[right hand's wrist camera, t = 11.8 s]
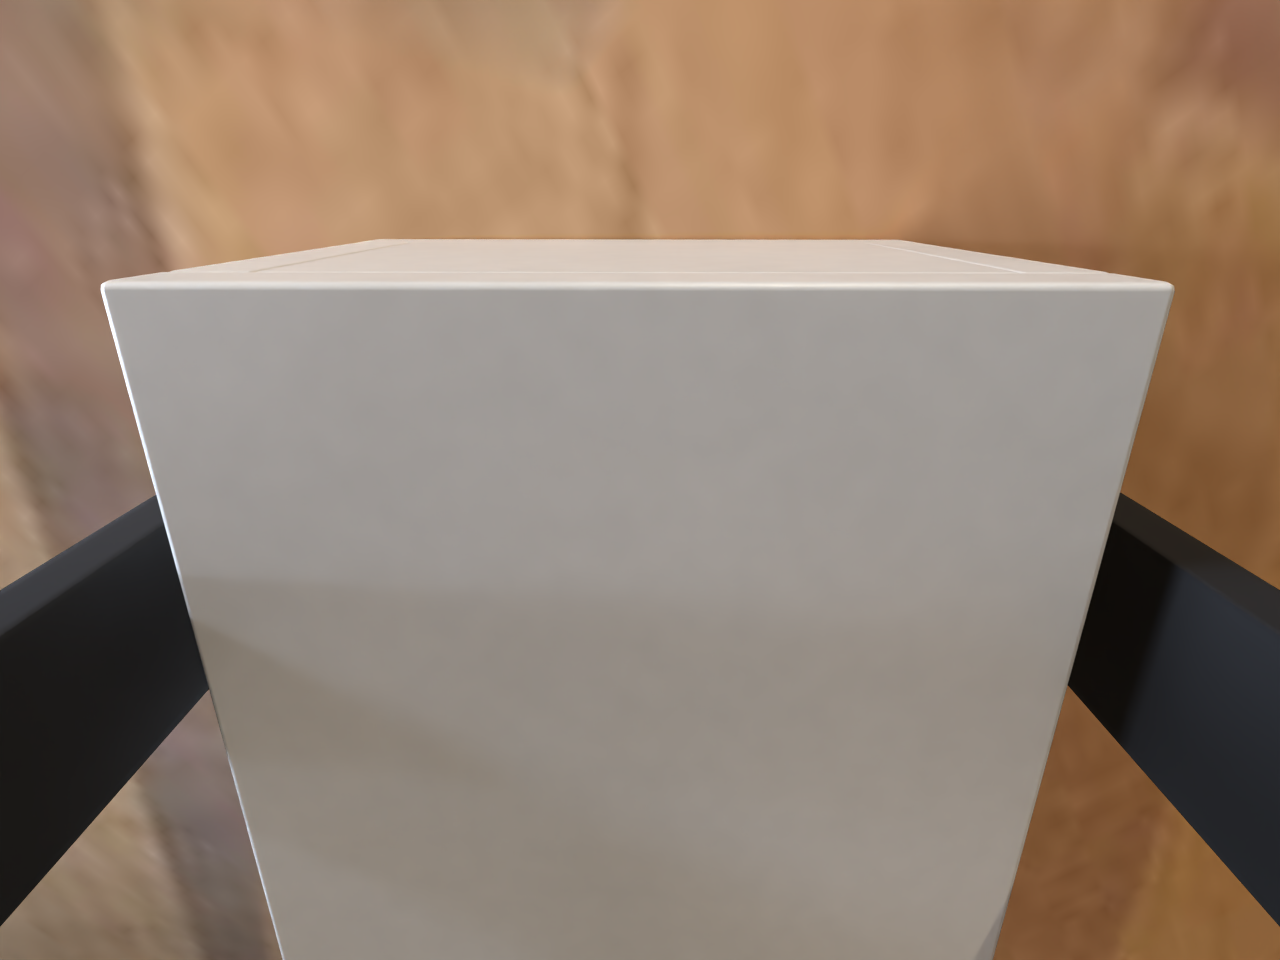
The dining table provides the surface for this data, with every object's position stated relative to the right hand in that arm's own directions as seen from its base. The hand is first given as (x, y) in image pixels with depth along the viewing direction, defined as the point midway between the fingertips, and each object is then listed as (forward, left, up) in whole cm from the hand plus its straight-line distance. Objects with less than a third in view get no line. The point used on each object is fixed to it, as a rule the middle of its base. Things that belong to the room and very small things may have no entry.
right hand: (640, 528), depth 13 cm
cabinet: (+1, -4, -4) cm, 6 cm away
